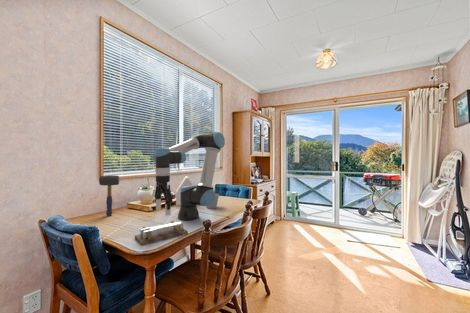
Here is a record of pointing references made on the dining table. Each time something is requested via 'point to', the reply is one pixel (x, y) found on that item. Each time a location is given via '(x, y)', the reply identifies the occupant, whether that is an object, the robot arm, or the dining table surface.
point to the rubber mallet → (109, 189)
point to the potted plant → (214, 201)
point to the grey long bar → (160, 230)
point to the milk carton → (184, 183)
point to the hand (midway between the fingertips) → (163, 212)
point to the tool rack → (160, 236)
